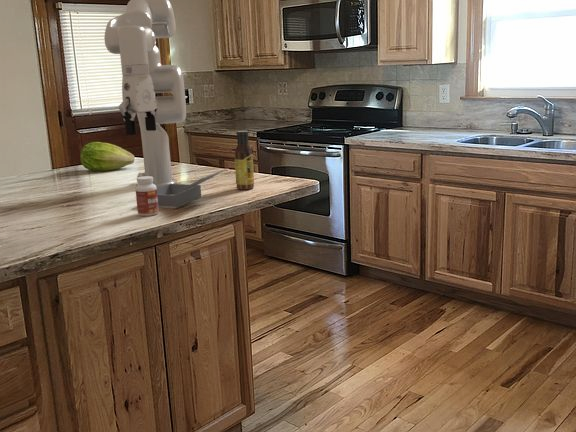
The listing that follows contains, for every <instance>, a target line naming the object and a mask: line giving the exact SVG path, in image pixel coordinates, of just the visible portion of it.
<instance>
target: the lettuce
mask: <svg viewBox="0 0 576 432" xmlns="http://www.w3.org/2000/svg"><path fill="white" fill-rule="evenodd" d="M135 160H136V159H135V155H134V154H133V153H131V152H130V151H127V150H126V149H125V148H122V147H121V146H118V145H116V144H112V143H108V142H101V141H91V142H89V143H87V144H85V145H84V146H83V147H82V148H81V151H80V162H81V165H82V166H83V167H84V168H85V169H86V170H89V171H92V172H108V171H114V170H119V169H122V168H125V167H126V166H129V165H133V164H134V162H135Z"/></svg>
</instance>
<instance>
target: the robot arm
mask: <svg viewBox="0 0 576 432" xmlns="http://www.w3.org/2000/svg"><path fill="white" fill-rule="evenodd" d="M176 24H177V23H176V17H175V13H174V9H173V6H172V3H171V2H170V0H129V1H128V3H127V5H126V9H125V12H123V13H122V14H120V15H117V16H115V17H113V18H111V19H110V20H108V22H107V24H106V26H105V27H106V28H105V30H104V36H103V37H104V45H105V48H106V50H107V51H108V52H109V53H111V54H112V55H113V54H114V55H119V56H120V58H119V59H120V66H121V75H122V78H121V79H122V81H121V95H122V97H121V98H122V102H121V103H120V104H119V105H118V109H119V112H120V114H121V116H122V118H123V121H124V123H125V124H124V125H125V134H126V135H127V136H137V134H138V131H137V122H136V121H137V120H138V123H139V124H138V125H139V128H140V129H139V130H140V136H141V145H142V156H143V166H144V172H138V174H137V175H136V176H137V177H136V179H137V178H138V177H143V176H152V177H153V184H155V185H156V187H157V188H159V187H161V186H164V185H167V184H178V182H177V179H175V178H173V174H172V161H171V151H170V138H169V135H168V133H167V131H166V130H165V129H164V128H163V127H162V126H161V125H165V124H179V123H183V122H185V120H186V118H187V103H186V101H187V100H186V91H185V82H184V81H185V79H184V74H183V71H182V69H181V67H180V66H179V65H176V64H162V63H161V53H160V49H159V47H158V46H157V45H156V44H157V39H169V38H172V37H174V35H175V33H176V31H177V30H176V29H177V25H176ZM159 93H160V94H162V93H170V94H171V95H172V96H171V95H169V96H156V94H159ZM136 116H137V120H135V117H136Z"/></svg>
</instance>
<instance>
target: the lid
mask: <svg viewBox="0 0 576 432" xmlns="http://www.w3.org/2000/svg"><path fill="white" fill-rule="evenodd" d="M227 170H229V169H228V168H224V169H222V170H220V171H216V172H215V173H212V174H209V175H207V176H205V177H204V176H203V177H202V178H199V179H198V180H196V181H195V182H192V183H191V184H190V183H189V186H187V187H185V188H183V189H181V190H179V191H177V192H175V194H176V193H178V192H181V191H183V190H186V189H188V188H191V187H193V186H196V185H201V184H202V183H204V182H206V181H208V180H210V179H211V178H213V177H216V176H217V175H219V174H221V173H223V172H224V171H227Z"/></svg>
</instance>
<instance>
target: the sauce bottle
mask: <svg viewBox="0 0 576 432" xmlns="http://www.w3.org/2000/svg"><path fill="white" fill-rule="evenodd" d="M236 138H237V142H236V143H237V146H236V147H235V150H234V168H235V169H234V171H235V172H234V173H235V185H236V189H237V190H239V191H241V190H244V191H245V190H252V189H254V188H255V187H254V184H255V175H254V154H253V152H252V149H251V146H250V144H249V143H250V142H249V131H248V130H238V131H236Z"/></svg>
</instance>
